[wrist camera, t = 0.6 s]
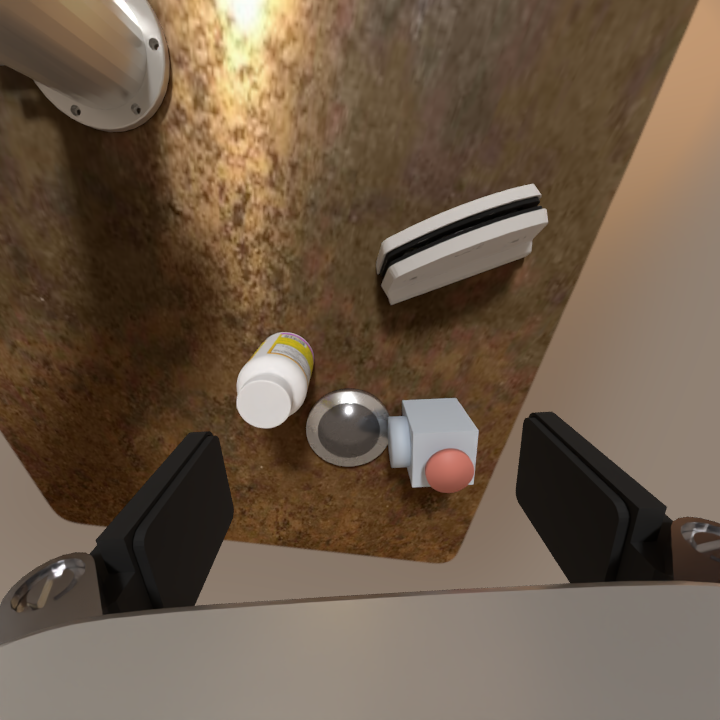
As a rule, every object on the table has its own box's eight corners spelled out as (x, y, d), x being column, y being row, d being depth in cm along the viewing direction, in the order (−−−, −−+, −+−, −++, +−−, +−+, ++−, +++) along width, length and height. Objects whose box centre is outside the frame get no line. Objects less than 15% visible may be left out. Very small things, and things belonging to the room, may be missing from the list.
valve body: (386, 447, 46) (397, 503, 36) (386, 401, 44) (397, 447, 34) (452, 444, 46) (480, 498, 36) (456, 398, 44) (486, 442, 34)
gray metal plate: (310, 463, 46) (309, 469, 45) (303, 390, 43) (302, 394, 42) (390, 459, 47) (391, 465, 46) (390, 386, 43) (391, 390, 42)
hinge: (387, 306, 40) (387, 289, 30) (374, 268, 40) (369, 238, 30) (528, 255, 38) (577, 220, 28) (514, 216, 38) (558, 167, 28)
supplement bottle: (271, 388, 43) (241, 447, 30) (251, 339, 40) (210, 381, 28) (322, 373, 42) (312, 427, 30) (304, 323, 40) (286, 359, 28)
